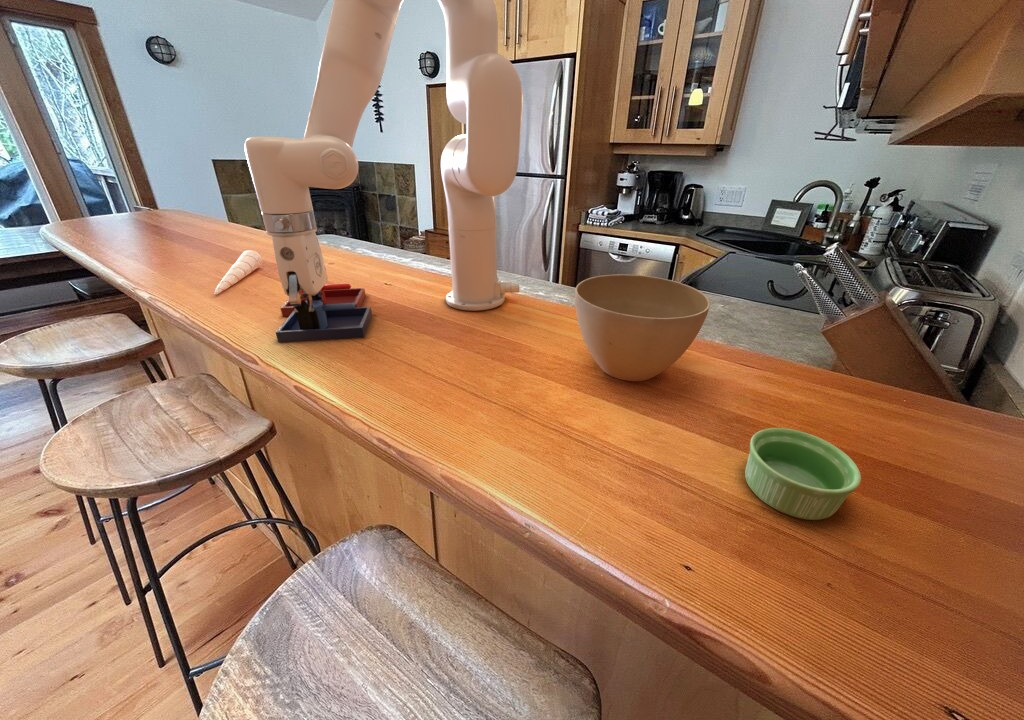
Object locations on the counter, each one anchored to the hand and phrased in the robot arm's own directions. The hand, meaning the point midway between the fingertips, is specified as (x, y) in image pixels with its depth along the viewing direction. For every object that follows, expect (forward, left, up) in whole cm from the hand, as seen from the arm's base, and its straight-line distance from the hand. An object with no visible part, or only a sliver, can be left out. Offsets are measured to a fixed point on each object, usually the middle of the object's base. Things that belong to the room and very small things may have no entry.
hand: (314, 325), depth 75 cm
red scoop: (0, -12, 0) cm, 12 cm away
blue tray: (-2, 0, -1) cm, 2 cm away
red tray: (+1, -12, -1) cm, 12 cm away
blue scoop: (-3, 0, 0) cm, 3 cm away
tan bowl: (-51, +22, -1) cm, 56 cm away
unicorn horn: (+26, -34, -1) cm, 43 cm away
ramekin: (-57, +48, -1) cm, 75 cm away
